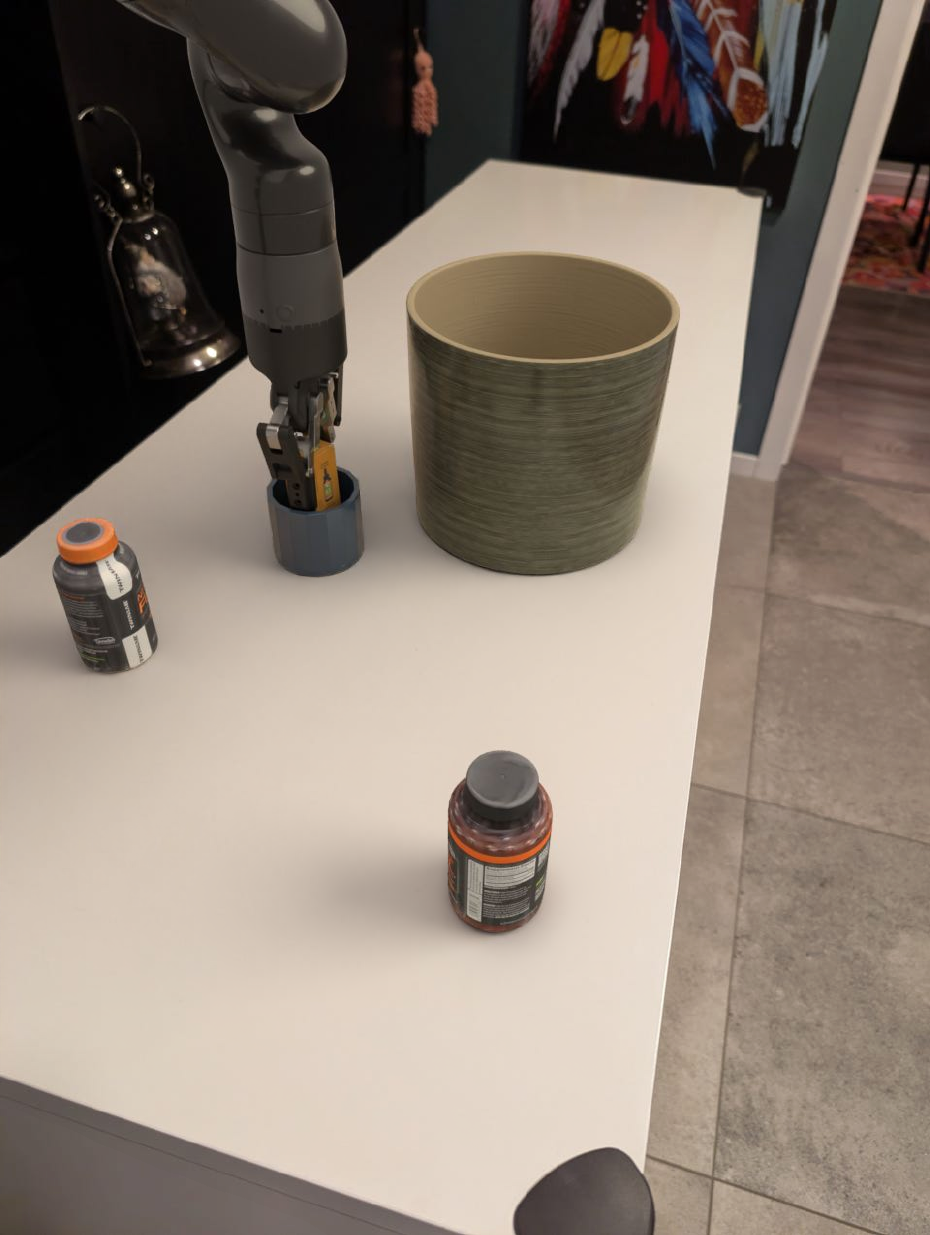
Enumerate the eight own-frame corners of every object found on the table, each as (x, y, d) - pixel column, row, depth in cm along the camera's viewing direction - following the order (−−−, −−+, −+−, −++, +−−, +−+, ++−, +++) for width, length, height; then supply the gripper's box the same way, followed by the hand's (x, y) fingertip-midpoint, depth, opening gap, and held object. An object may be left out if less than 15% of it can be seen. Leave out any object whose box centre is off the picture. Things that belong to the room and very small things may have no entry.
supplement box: (317, 528, 87) (307, 431, 80) (346, 542, 85) (338, 444, 79) (291, 546, 85) (279, 447, 78) (320, 560, 83) (311, 461, 77)
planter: (371, 544, 86) (358, 331, 73) (462, 429, 102) (465, 236, 89) (610, 605, 80) (643, 385, 67) (668, 473, 96) (704, 273, 83)
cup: (262, 569, 83) (252, 507, 79) (293, 519, 89) (285, 458, 85) (348, 582, 82) (343, 520, 78) (374, 530, 88) (370, 470, 84)
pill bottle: (170, 656, 75) (139, 539, 67) (94, 686, 72) (54, 567, 65) (143, 614, 78) (111, 499, 71) (70, 641, 76) (29, 524, 68)
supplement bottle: (449, 851, 62) (450, 732, 54) (542, 854, 61) (555, 735, 54) (445, 935, 57) (445, 818, 50) (545, 939, 57) (560, 822, 50)
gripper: (279, 260, 76) (299, 448, 88) (204, 335, 66) (239, 537, 77) (369, 269, 75) (379, 458, 86) (308, 347, 65) (328, 551, 76)
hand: (313, 495), depth 82 cm, fingers closed on supplement box, 4 cm apart
